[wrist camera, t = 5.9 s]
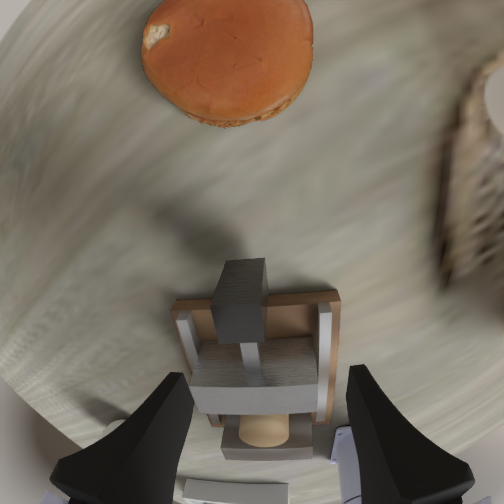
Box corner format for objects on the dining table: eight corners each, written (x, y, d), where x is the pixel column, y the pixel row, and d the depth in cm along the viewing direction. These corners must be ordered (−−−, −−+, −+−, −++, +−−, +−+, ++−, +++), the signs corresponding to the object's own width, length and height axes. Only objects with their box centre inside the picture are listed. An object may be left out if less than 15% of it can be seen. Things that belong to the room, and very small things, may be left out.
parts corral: (289, 500, 39) (289, 518, 36) (202, 497, 41) (198, 513, 38) (288, 483, 35) (287, 504, 32) (186, 478, 37) (181, 497, 34)
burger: (327, 108, 16) (342, 101, 12) (181, 142, 18) (152, 147, 13) (286, -23, 13) (287, -59, 8) (150, 14, 14) (118, -8, 10)
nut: (289, 411, 25) (289, 446, 21) (246, 412, 25) (242, 446, 21) (288, 385, 23) (288, 422, 19) (240, 386, 24) (235, 423, 20)
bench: (329, 412, 27) (333, 456, 22) (214, 415, 28) (205, 458, 23) (337, 289, 21) (352, 338, 16) (176, 299, 22) (152, 346, 17)
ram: (312, 365, 22) (317, 416, 17) (211, 368, 23) (198, 417, 18) (310, 254, 18) (320, 298, 13) (183, 263, 19) (156, 306, 14)
